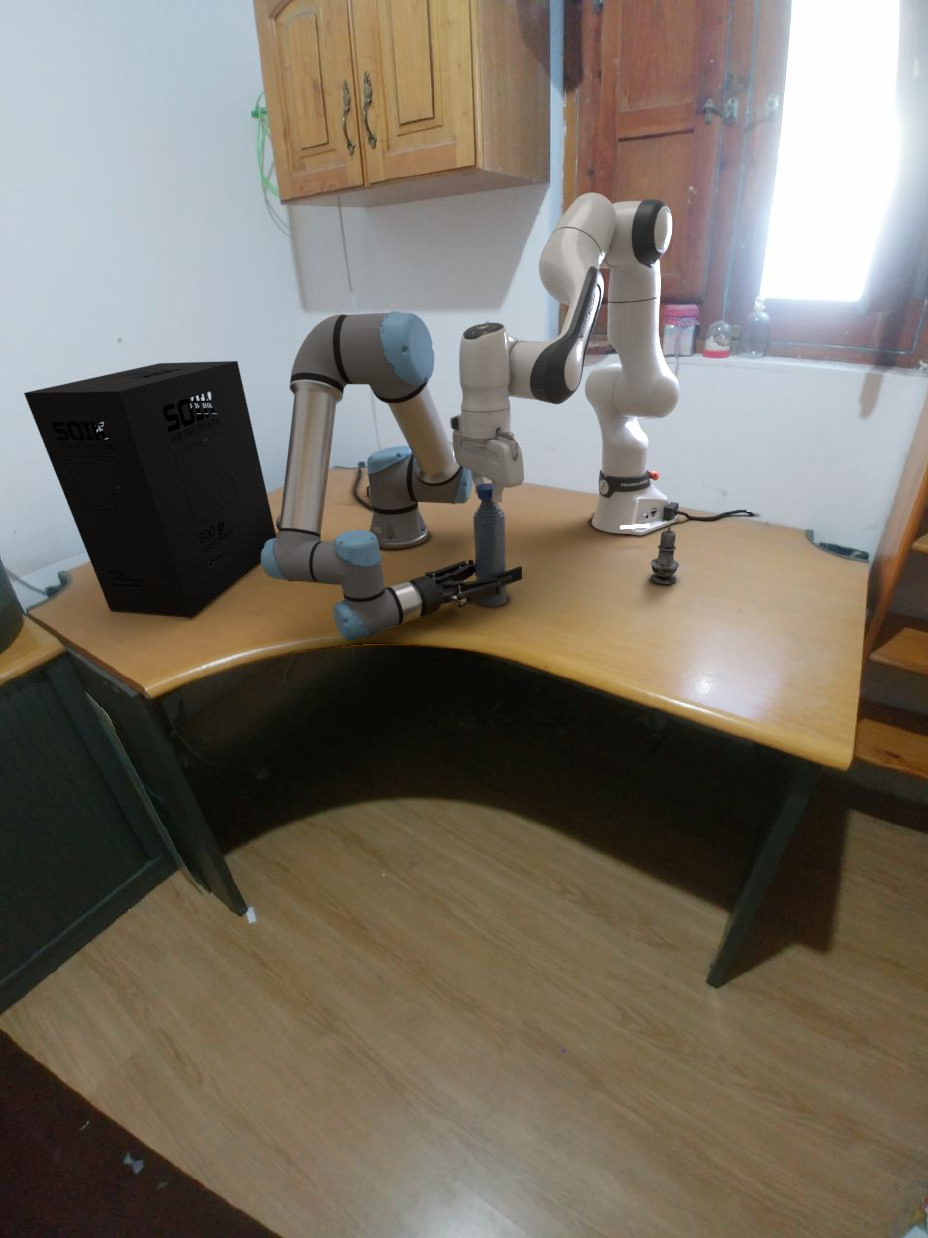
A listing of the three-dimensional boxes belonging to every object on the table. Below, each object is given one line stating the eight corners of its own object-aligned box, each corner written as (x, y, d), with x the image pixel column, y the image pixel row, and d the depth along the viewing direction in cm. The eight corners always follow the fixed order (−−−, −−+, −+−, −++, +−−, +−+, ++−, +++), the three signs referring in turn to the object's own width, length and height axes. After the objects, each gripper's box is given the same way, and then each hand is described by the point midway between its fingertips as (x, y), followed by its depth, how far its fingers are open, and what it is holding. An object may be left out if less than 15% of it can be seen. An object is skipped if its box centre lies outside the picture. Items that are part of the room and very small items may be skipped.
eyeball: (273, 537, 164) (268, 516, 161) (287, 528, 169) (282, 508, 166) (291, 539, 161) (286, 518, 158) (305, 530, 166) (301, 510, 163)
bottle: (497, 590, 130) (494, 482, 118) (512, 601, 125) (510, 491, 114) (471, 597, 128) (466, 488, 116) (485, 609, 123) (481, 497, 111)
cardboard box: (191, 617, 126) (119, 391, 104) (110, 610, 131) (23, 392, 108) (278, 546, 158) (237, 360, 135) (210, 542, 162) (159, 363, 140)
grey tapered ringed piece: (678, 585, 127) (686, 532, 121) (649, 584, 129) (655, 531, 123) (675, 573, 132) (683, 521, 126) (648, 572, 134) (653, 520, 128)
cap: (499, 500, 114) (499, 489, 113) (477, 501, 114) (477, 490, 113) (498, 493, 117) (498, 482, 116) (477, 494, 117) (477, 483, 116)
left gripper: (393, 597, 125) (485, 567, 135) (440, 636, 111) (539, 600, 121) (389, 564, 121) (484, 536, 131) (437, 600, 107) (540, 566, 117)
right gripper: (533, 431, 102) (532, 509, 109) (474, 412, 118) (477, 482, 125) (501, 437, 99) (502, 517, 106) (445, 417, 115) (450, 487, 122)
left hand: (510, 567), depth 126 cm, fingers closed on bottle, 6 cm apart
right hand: (488, 497), depth 116 cm, fingers open, 4 cm apart
